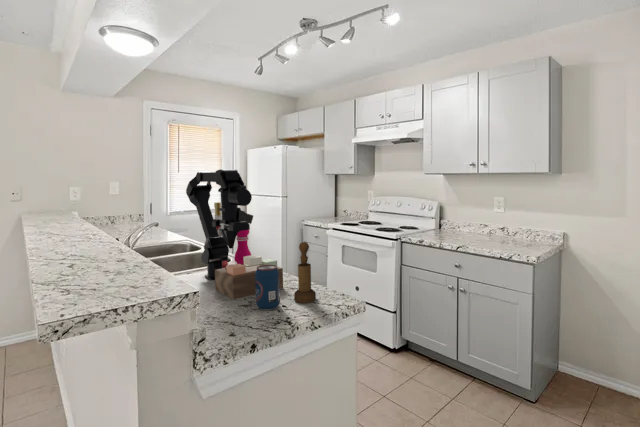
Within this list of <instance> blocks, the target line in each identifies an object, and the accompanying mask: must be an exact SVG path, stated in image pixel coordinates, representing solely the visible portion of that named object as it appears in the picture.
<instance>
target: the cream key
mask: <svg viewBox="0 0 640 427" xmlns="http://www.w3.org/2000/svg"><path fill="white" fill-rule="evenodd" d="M262 258H263V256H260V255H257V254H251V256H245V257H244V264H246V265H249V266H253V265H258V264H262V260H263V259H262Z"/></svg>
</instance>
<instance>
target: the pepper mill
mask: <svg viewBox="0 0 640 427" xmlns="http://www.w3.org/2000/svg"><path fill="white" fill-rule="evenodd" d="M249 234H250V230H242V231H240V232H238V233H237V236H236V239H235V241H237V247H236V248H237V249H236V252H235V254H234V258H233V259H234V262H235V264H241V265H243V264H244V257H245V256H251V255H252V253H251V250H250V248H249V245H248V244H249V243H248V241H249Z"/></svg>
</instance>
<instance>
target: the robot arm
mask: <svg viewBox="0 0 640 427" xmlns="http://www.w3.org/2000/svg"><path fill="white" fill-rule="evenodd" d="M202 182H203V183H202ZM204 182H205V183H206V184H205V183H204ZM212 183H215V184H216V185H218V186H220V187H219V188H218V190H217V192H218V193H220V202H221V208H219V211H221V219H215V218H214V216H213V212H212V210H211V207H210V203H209V201H210V197H211V191H212V188H213V187H212ZM185 194H186V196H187V197H188V200H189V203H191V204H192V205H193V206H195V208H196V212H197V215H198V217H199V221H200V224H201V227H202V231H203V232H204V233H203V234H204V237H205V241H204V245H203V249H204V251H203V252H202V254H201V256H200V258H201V259H200V260H201V263H202V264H206V265H207V266H206V268H207V274H206V275H204V277H205V278H206V279H207V280H210V281H212V280H215V270H216V269H222V268H223V263H222V261H227V262H228V258H229V253H230V252H229V251H230V249H234V245H235V243H236V239H237V238H236V237H237V233H238V232H240V231H242V230H249V231H250V230H251V229H250V228H251V227H250V226H251V225H252V222H253V219H254V215H253V214H251V213H250V214H249V213H247V212H246V211H244V210H242V209H241V208H240V207H243V206H244V207H246V206H248V205H250V203H251V201H252V194H251V192H250V191H249V189H247V186H246V185H245V182H244V180H243V179H242V176H241V174H240V172H239V171H238V169H234V168H233V169H229V168H228V169H224V168H223V169H217V170H215V171H205V170H203V171H197V173H196V175H195V176H194V177H193V178H192V179H190V181H188V184H187V186H186V188H185ZM239 206H240V207H239ZM217 226H221V229H219V230H220V232H221V234H222V235H223V236H222V237H221V236H220V235H219V234H218V232H217V228H216V227H217Z"/></svg>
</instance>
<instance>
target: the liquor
mask: <svg viewBox="0 0 640 427" xmlns="http://www.w3.org/2000/svg"><path fill="white" fill-rule="evenodd" d="M213 205H214V206H213V207H214V219H221V218H222V214H221V211H219V208H221V201H218V202H214V204H213ZM216 228H217V232H218V234H219V235H220V236H221V237H222V236H223V235H222V234H221V232H220V230H219V229H221V226H217V227H216ZM222 263H223V268H226V267H227V266H229V263H228V260H227V261H222Z"/></svg>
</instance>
